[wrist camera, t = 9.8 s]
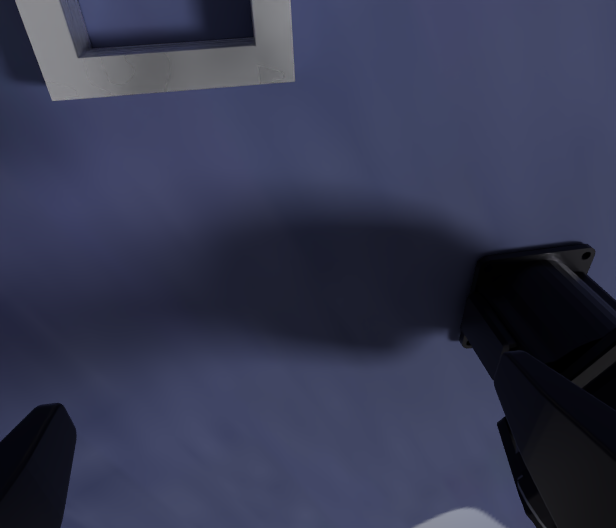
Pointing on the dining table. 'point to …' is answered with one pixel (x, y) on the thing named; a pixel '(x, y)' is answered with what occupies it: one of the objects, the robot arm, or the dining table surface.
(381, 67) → the dining table surface
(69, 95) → the rail
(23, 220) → the dining table surface
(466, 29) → the dining table surface
